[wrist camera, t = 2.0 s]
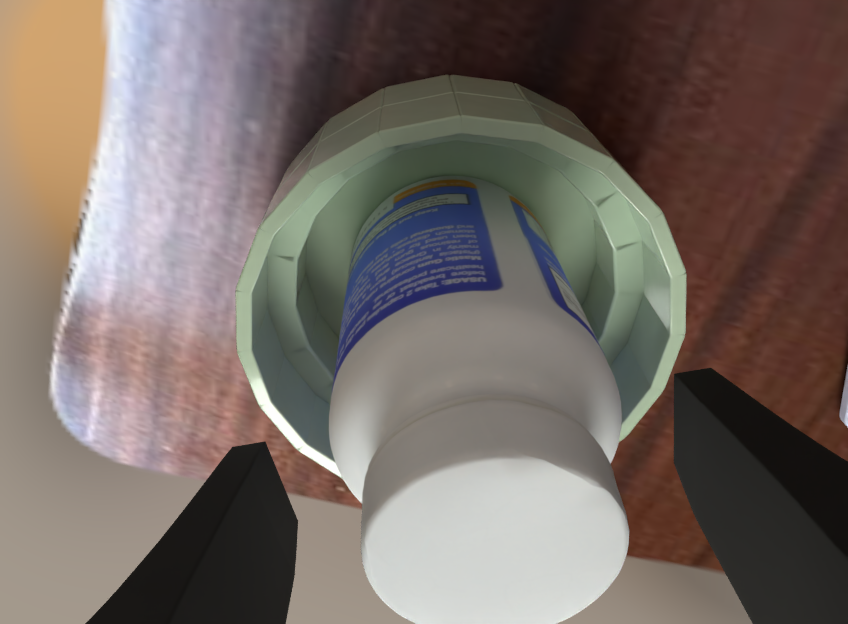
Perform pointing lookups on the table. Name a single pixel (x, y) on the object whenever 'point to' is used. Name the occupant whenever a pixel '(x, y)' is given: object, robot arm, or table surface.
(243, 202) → the table surface
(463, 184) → the pill bottle
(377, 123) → the bowl
